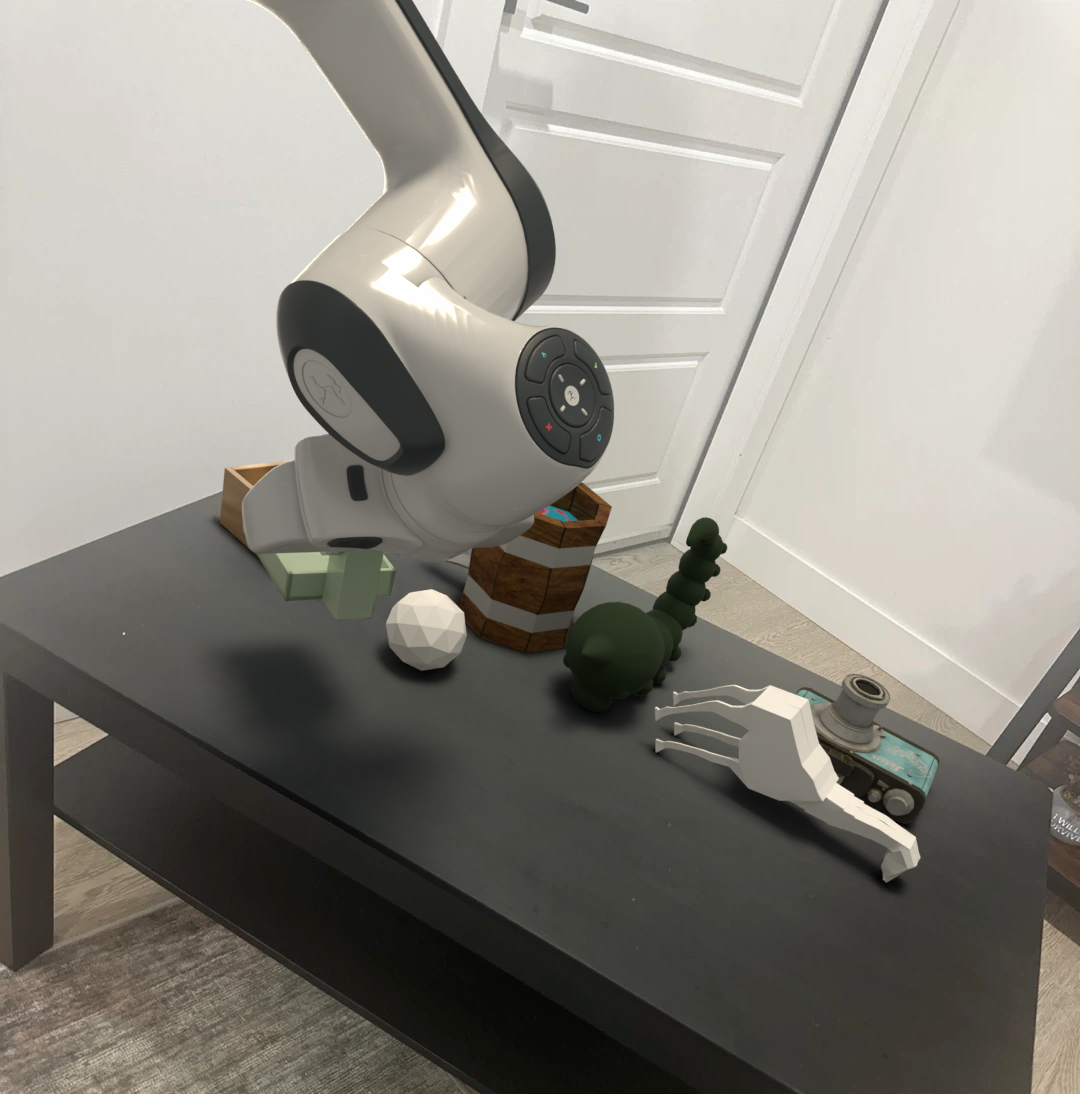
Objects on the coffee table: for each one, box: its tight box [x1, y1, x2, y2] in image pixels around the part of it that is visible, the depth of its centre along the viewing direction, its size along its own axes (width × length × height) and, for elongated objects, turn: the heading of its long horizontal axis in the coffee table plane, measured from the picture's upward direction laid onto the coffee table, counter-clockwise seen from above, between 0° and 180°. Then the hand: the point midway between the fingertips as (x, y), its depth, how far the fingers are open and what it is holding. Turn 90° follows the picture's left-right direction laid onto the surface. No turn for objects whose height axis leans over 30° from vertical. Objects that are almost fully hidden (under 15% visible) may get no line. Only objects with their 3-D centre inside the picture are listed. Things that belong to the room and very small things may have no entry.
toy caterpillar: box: [562, 516, 728, 713], centre depth 99 cm, size 9×19×25 cm
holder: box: [219, 459, 292, 556], centre depth 107 cm, size 12×12×7 cm
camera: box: [794, 673, 941, 824], centre depth 100 cm, size 16×10×10 cm
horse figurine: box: [654, 684, 921, 884], centre depth 92 cm, size 5×16×25 cm
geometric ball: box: [385, 588, 468, 672], centre depth 95 cm, size 8×8×8 cm
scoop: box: [243, 526, 397, 621], centre depth 78 cm, size 14×9×10 cm, turn 30°
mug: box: [444, 482, 613, 654], centre depth 105 cm, size 20×14×15 cm
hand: (354, 544), depth 75 cm, fingers closed on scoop, 3 cm apart
